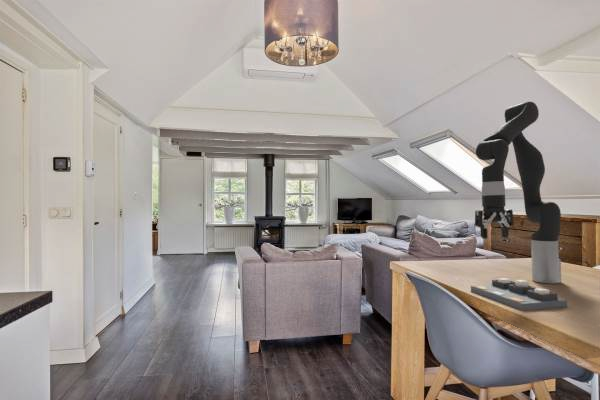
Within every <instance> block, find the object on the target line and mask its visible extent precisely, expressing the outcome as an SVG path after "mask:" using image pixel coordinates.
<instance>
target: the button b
mask: <svg viewBox="0 0 600 400" xmlns="http://www.w3.org/2000/svg"><path fill="white" fill-rule="evenodd" d="M514 282H515V286H516V287H519V288H529V286H530V283H529V281H528V280H526V279H515V281H514Z"/></svg>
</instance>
